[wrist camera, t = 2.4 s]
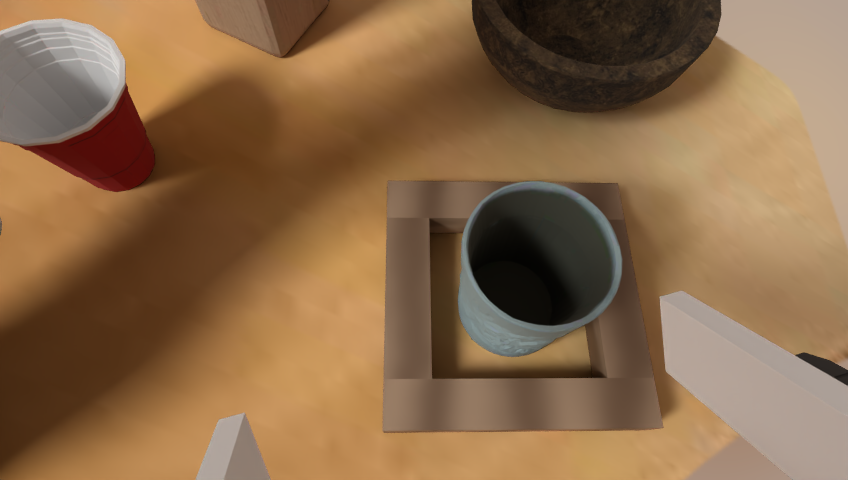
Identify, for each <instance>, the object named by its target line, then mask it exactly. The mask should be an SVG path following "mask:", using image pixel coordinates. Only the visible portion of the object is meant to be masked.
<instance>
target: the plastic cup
mask: <svg viewBox="0 0 848 480" xmlns="http://www.w3.org/2000/svg"><path fill="white" fill-rule="evenodd" d="M0 141H3V142H7V143H12V144H14V145H18V146H20V147H22V148H24V149H25V150H29V151H31V152H33V153H35V154H37V155H39V156H40V157H42V158H44V159H46V160H48V161H49V162H51V163H53V164H55V165H57V166H58V167H60V168H62V169H64V170H65V171H67V172H69V173H71V174H73V175H74V176H76V177H80V178H82V179H84V180H86V181H87V182H89V183H91V184H93V185H94V186H96V187H98V188H102V189H104V190H109V191H114V192H118V191H124V190H129V189H131V188H133V187H135V186H137V185H140V184H141V183H142V182H143V181H144V180H145V179H146V178H147V177H148V176H149V175H150V174H151V172H152V169H153V167H154V165H155V155H154V150H153V148H152V146H151V143H150V141H149V139H148V137H147V135H146V130H145V128H144V126H143V124H142V121H141V119H140V117H139V115H138V112H137V110H136V108H135V106H134V103H133V101H132V99H131V97H130V95H129V92H128V87H127V84H126V64H125V59H124V58H123V56H122V54H121V52H120V51H119V49H118V47H117V46H116V44H115V42H114V40H113V39H111V38H110V37H108V36H107V35H105V34H104V33H102V32H101V31H99V30H98V29H96V28H95V27H93V26H92V25H88V24H84V23H79V22H75V21H71V20H66V19H49V20H32V21H28V22H25V23H22V24H19V25H16V26H14V27H11V28H8V29H5V30H2V31H0Z"/></svg>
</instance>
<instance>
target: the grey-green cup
mask: <svg viewBox="0 0 848 480" xmlns="http://www.w3.org/2000/svg"><path fill="white" fill-rule="evenodd" d="M461 266H462V271H461V274H460V286H459V293H458V309H459V316H460V319H461V322H462V324H463V326H464V328H465V330H466V331H467V333H468V334H469V335H470V337H471V339H472V340H474V341H475V342H476V343H477V344H478V345H480V346H481V347H483V348H484V349H486V350H488V351H490V352H492V353H494V354H498V355H501V356H508V357H519V356H524V355H528V354H531V353H533V352H536V351H538V350H539V349H541V348H543V347H544V346H546V345H548V344H549V343H551V342H553V341H554V340H555V339H556V338H557V337H562V336H564V335H566V334H568V333H569V332H571V331H573V330H575V329H577V328H579V327H581V326H583V325H585V324H587V323H589V322H591V321H593V320H594V319H596V318H597V317H598V316H599V315H600V314H601V313H603V312H604V310H605V309H606V308H607V307H608V306H609V304H610V303H611V302H612V300H613V298H614V296H615V295H616V293H617V290H618V287H619V285H620V280H621V276H622V255H621V249H620V246H619V243H618V240H617V237H616V234H615V232H614V230H613V228H612V226H611V224H610V222H609V221H608V220H607V218H606V217H605V215H604V214H603V213H602V212H601V211H600V210H599V209H598V208H597V207H596V206H595V205H594V204H593V203H592V202H590V201H589V200H588V199H587V198H586V197H584V196H582V195H581V194H579V193H577V192H575V191H574V190H571V189H569V188H567V187H565V186H561V185H558V184H554V183H549V182H542V181H526V182H519V183H515V184H511V185H508V186H505V187H502V188H500V189H498V190H496V191H494V192H493V193H491V194H490V195H488V196H487V197H486V198H484V199H483V200H482V201H481V202H480V203H479V204H478V205H477V207H476V208H475V209H474V210H473V212H472V214H471V215H470V217H469V219H468V221H467V223H466V226H465V229H464V232H463V237H462V249H461Z"/></svg>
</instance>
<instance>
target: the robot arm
mask: <svg viewBox="0 0 848 480" xmlns="http://www.w3.org/2000/svg"><path fill="white" fill-rule="evenodd" d="M1 230H2V221H1V218H0V235H1ZM659 298H660V310H661V322H662V334H663V346H664V358H665V370H666V372H667V373H668V374H669V375H670V376H672V377H673V378H674V379H675V380H676V381H677V382H679V383H680V384H681V385H682V386H683V387H685V388H686V389H687V390H688V391H689V392H690V393H692V394H693V395H694V396H695V397H696V398H697V399H699V400H700V401H701V402H702V403H703V404H704V405H706V406H707V407H708V408H709V409H710V410H711V411H713V412H714V413H715V414H716V415H717V416H718V417H720V418H721V419H722V420H723V421H724V422H725V423H727V424H728V425H729V426H730V427H731V428H732V429H734V430H735V431H736V432H737V433H738V434H739V435H741V436H742V437H743V438H744V439H745V440H746V441H748V442H749V443H750V444H751V445H752V446H753V447H755V448H756V449H757V450H758V451H759V452H760V453H762V454H763V455H764V456H765V457H766V458H768V459H769V460H770V461H771V462H772V463H774V465H776V466H777V467H778V468H779V469H780V470H781V471H783V472H784V473H785V474H786V475H787V476H789V477H790V478H791V479H792V480H848V370H846V369H845V368H843V367H841V366H839V365H837V364H835V363H834V362H832V361H830V360H827V359H824V358H820V357H817V356H814V355H811V354H807V353H801V354H798V355H793V354H791V353H790V352H788V351H786V350H784V349H783V348H781V347H779V346H777V345H776V344H774V343H772V342H770V341H769V340H767V339H765V338H764V337H762V336H760V335H758V334H757V333H755V332H753V331H751V330H750V329H748V328H746V327H744V326H743V325H741V324H739V323H737V322H736V321H734V320H732V319H731V318H729V317H727V316H725V315H724V314H722V313H720V312H718V311H717V310H715V309H713V308H711V307H710V306H708V305H706V304H704V303H703V302H701V301H699V300H698V299H696V298H694V297H692V296H691V295H689V294H687V293H685V292H684V291H678V292H675V293H671V294H667V295H664V296H660V297H659ZM196 480H271V479H270V476H269V474H268V471H267V469H266V466H265V464H264V461H263V458H262V456H261V453H260V451H259V448H258V446H257V443H256V440H255V438H254V435H253V433H252V430H251V428H250V425H249V422H248V420H247V417H246V415H245V413H241V414H238V415H234V416H231V417H227V418H223V419H220V420H218V423H217V425H216V428H215V431H214V433H213V436H212V438H211V441H210V444H209V446H208V449H207V451H206V454H205V456H204V459H203V462H202V464H201V467H200V469H199V472H198V475H197V477H196Z"/></svg>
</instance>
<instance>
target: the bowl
mask: <svg viewBox="0 0 848 480" xmlns="http://www.w3.org/2000/svg"><path fill="white" fill-rule="evenodd" d="M472 12H473V21H474V25H475V28H476V31H477V34H478V37H479V40H480V42H481V45H482V47H483V50H484V51H485V53H486V55H487V56H488V58H489V60H490V62H491V63H492V65H493V66H494V67H495V68H496V69H497V70H498V71H499V72H500V74H501V75H502V76H503V77H504V78H505V79H506V80H507V81H508V82H509V83H510V84H511V85H512V86H513V87H515V88H516V89H517V90H519V91H520V92H521V93H522V94H524V95H526V96H528V97H529V98H531V99H533V100H535V101H537V102H539V103H542V104H544V105H547V106H550V107H553V108H556V109H561V110H566V111H571V112H600V111H607V110H615V109H621V108H624V107H627V106H630V105H633V104H636V103H638V102H641V101H643V100H645V99H647V98H649V97H651V96H653V95H655V94H657V93H658V92H660V91H662V90H663V89H665V88H667V87H669V86H670V85H671V84H672V83H673V82H674V81H675V80H676V79H677V78H678V77H679V76H680V75H681V74H682V73H683V72H684V71H685V70H686V69H687V68H688V67H689V66H690V65H691V64H692V63H693V62H694V61H695V60H696V59H697V58H698V57H699V56H700V55H701V54H702V53H703V52H704V51H705V50H706V49H707V48H708V47H709V45H710V43H711V42H712V40H713V38H714V36H715V35H716V33H717V31H718V26H719V22H720V18H721V0H472Z"/></svg>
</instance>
